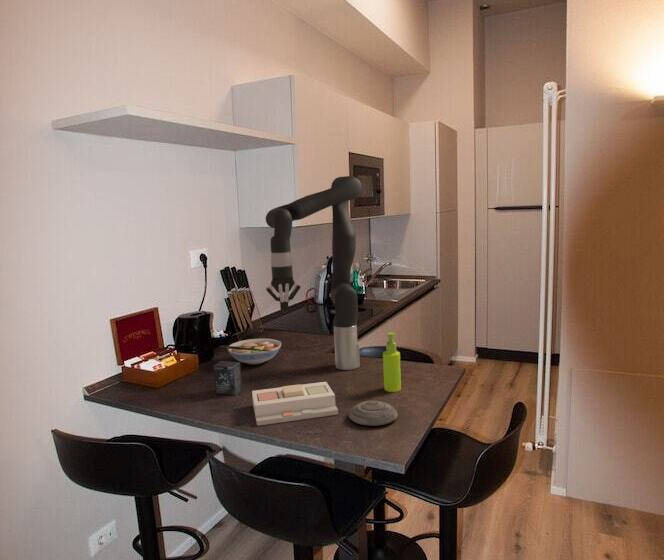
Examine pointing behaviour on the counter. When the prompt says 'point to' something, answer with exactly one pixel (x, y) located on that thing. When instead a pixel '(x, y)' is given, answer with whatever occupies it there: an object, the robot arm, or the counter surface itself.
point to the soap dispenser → (391, 366)
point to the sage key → (316, 390)
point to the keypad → (294, 405)
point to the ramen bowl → (254, 350)
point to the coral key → (267, 396)
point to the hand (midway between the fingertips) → (284, 311)
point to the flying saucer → (372, 413)
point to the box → (227, 378)
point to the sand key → (292, 391)
